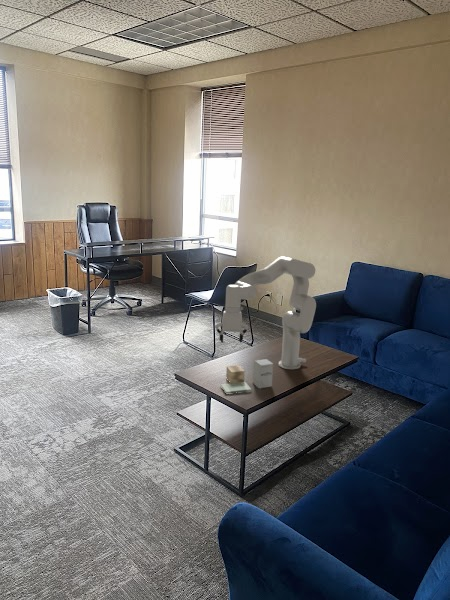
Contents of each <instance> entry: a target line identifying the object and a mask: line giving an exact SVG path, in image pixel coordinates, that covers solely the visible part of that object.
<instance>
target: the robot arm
mask: <svg viewBox="0 0 450 600" xmlns="http://www.w3.org/2000/svg"><path fill="white" fill-rule="evenodd" d="M285 274H287V275H290V276H291V277H292V279H293V285H292V290H291V292H290V293H291V294H290V298H289V303H288V304H289V306H290V307H291V308H292V309H293V310H288V311H286V312H284V314H283V315H282V317H281V319H282V320H281V324H282V345H281V347H282V348H281V359H280V360H279V361H278V366H279V367H280V368H282V369H285V370H298V369H300V368H301V366H302V364H301V363H306V362H307V358H302V357H299V355H300V344H301V334H306V333H308V331H309V330H310V329H311V327H312V324H313V321H314V317H315V313H316V308H317V301H316V299H315V298H314V297H313V296H311V295H309V294H308V292H309V287H310V281H309V280H310V279H312V278H313V277H314V276H315V274H316V266H315V265H314V264H312V263H311V262H308V261H307V262H306V261H302V260H300V259H297V258H293V257H289V256H280V257H277V258H276V259H275V260H273V261H271V262H270V263H269V264H266V266H265V267H263V268H262V269H258V270H257V271H253V272H249V273H248V274H245V275H244V276H243V277H241V278H239V280H236V281H235V283H234V284H228V285H227V286H226V288H225V307H224V308H225V309H224V311H223V313H222V318H221V319H222V320H221V322H220V323H218V324H215V325H214V328H215V330H216V331H217V333H218V334H219V341H220V342H221V343H224V334H225V332H226V333H227V332H228V333H229V332H234V333H236V332H237V333H239V343H240V344H241V343H242V341H244V335H245V334H246V333H247V332H248V329H249V328H250V327H249V325H248V324H246V323H243V314H242V311H243V310H244V307H243V306H241V303H242V300H246V301H247V300H252V299H255V298H256V296H258V295H257V294H258V290H257V288H256V286H258V285H267V284H268V285H269V284H272V283H274V282H275V281H276V280H277V279H278V278H280V277H281V276H283V275H285ZM294 310H295V311H294ZM297 311H298V312H297ZM220 327H221V329H219V328H220ZM243 327H244V328H243Z"/></svg>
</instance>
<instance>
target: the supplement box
mask: <svg viewBox="0 0 450 600" xmlns="http://www.w3.org/2000/svg"><path fill="white" fill-rule="evenodd" d="M273 373H274V363H273V362H272V361H270V360H269V359H268V358H265V359H257V360H253V373H252V374H253V377H252V384H254V385H255V386H256V387H257V388H258V389H259V388H260V389H264V388H271V387H272V386H273Z"/></svg>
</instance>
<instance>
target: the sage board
mask: <svg viewBox="0 0 450 600" xmlns="http://www.w3.org/2000/svg"><path fill="white" fill-rule="evenodd" d="M221 386H222V388H223V389H224V391H225V392H226V393H236V392H237V393H238V392H247V393H252V388H251V387H250V386H249V384H248V383H247V382H246V381H244V382H238V383H229V382H228V383H221V384H220V387H221ZM222 388H221V389H222ZM224 391H223V392H224ZM238 394H239V393H238Z"/></svg>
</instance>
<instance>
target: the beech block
mask: <svg viewBox="0 0 450 600" xmlns="http://www.w3.org/2000/svg"><path fill="white" fill-rule="evenodd" d="M226 377H227V379H228V380H229V381H230V383H238V382H245V369H244V368H243V367H242V366H241V365H240V364H239V365H238V364H236V365H226ZM226 377H225V378H226ZM227 379H226V380H227ZM228 380H227V381H228Z"/></svg>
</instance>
